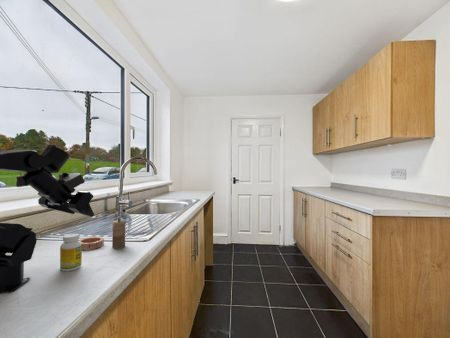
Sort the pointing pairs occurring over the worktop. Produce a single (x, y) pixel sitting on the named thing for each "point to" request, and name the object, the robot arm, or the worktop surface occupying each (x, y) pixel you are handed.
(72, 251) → the supplement bottle
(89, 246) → the ring
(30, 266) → the worktop surface
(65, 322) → the worktop surface
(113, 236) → the brown cylinder
